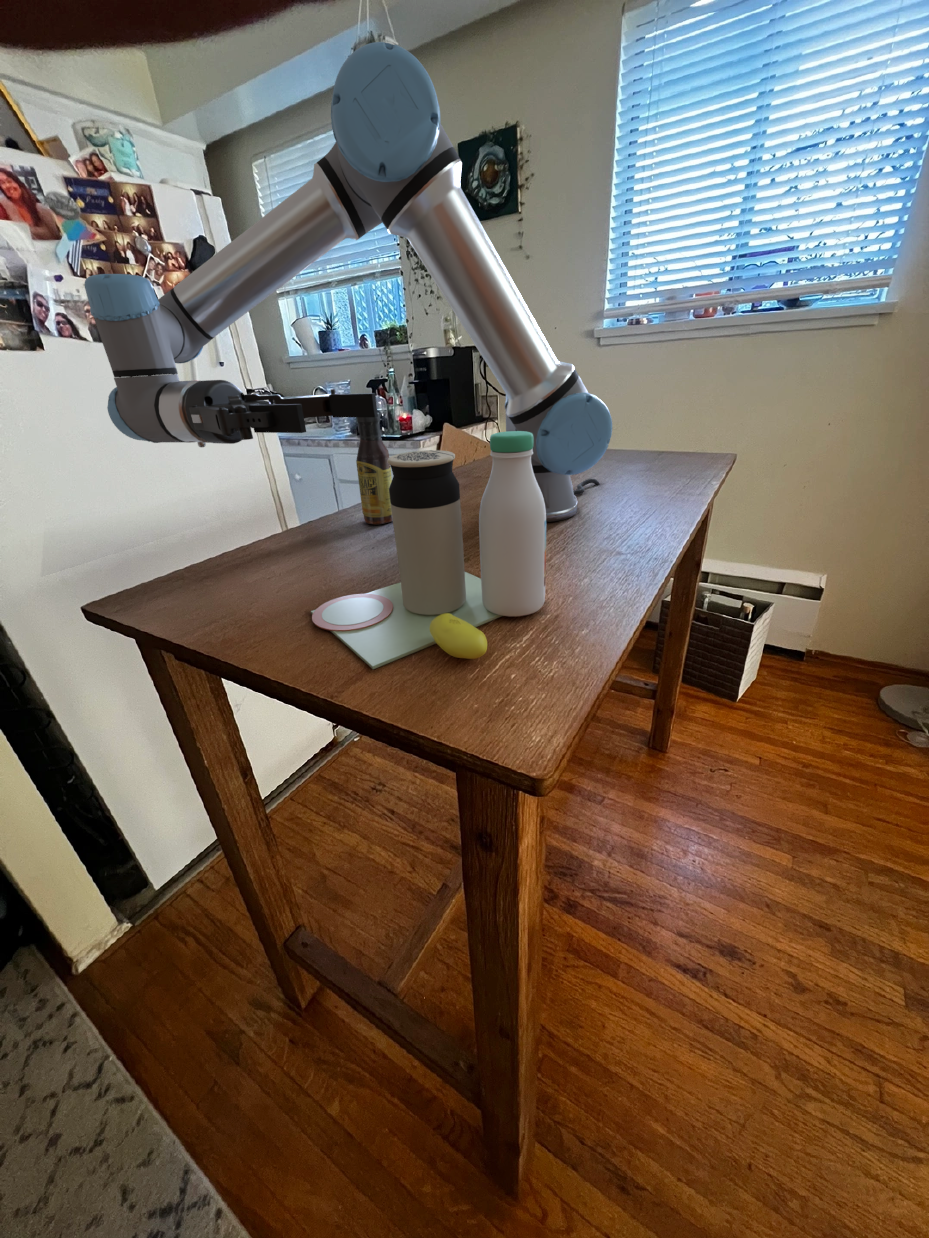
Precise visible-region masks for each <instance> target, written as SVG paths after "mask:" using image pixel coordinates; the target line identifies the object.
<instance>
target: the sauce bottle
mask: <svg viewBox="0 0 929 1238" xmlns="http://www.w3.org/2000/svg"><path fill="white" fill-rule="evenodd" d="M356 420H357V421H356V422H357V424H358V431H359V443H358V449H357V454H356V455H357V456H356V459H355V460H356V461H355V463H356V471H357V478H358V479H357V480H358V488H359V494H360V503H361V513H362V515H363V520H364V522H365V523H366V524H368V525H375V526H380V525H381V526H382V525H384V524H388V523H391V522H393V518H392V510H391V503H390V495H389V487H390V484H391V481H392V479H393V476H392V469H391V466H390V464H388V462H387V460H388V458H389V457H390V453H389V449H388V447H386V445H385V444H384V441H383V439H382V434H381V427H380V425H381V424H380V422H381V414H380V412H378V417H356Z"/></svg>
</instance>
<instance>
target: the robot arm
mask: <svg viewBox="0 0 929 1238" xmlns="http://www.w3.org/2000/svg"><path fill="white" fill-rule="evenodd" d="M345 59H346V60H345V61H344V62H343V64H342V65H341V66H340V69H339V70H338V73H337V76H336V78H335V81H334V85H333V90H332V98H331V103H330V104H331V105H330V121H331V130H332V133H333V137H334V140H335V143H334V144H333V146H332V147H331V148H330V150H329V151H328V152H327V153H326V154H325V155H324V156H323V157H322V158H320V159H319V160H318V161H316V162H315V163H314V164H313V172H312V173H313V174H312V178H311V179H309V180H308V181H307V182H306V183H304V184H303V185H302V186H300V187H299V188H298V189H296V190H295V191H294V192H293V193H291V194H289V196H287V198H285V199H284V200H283V201H281V202H280V203H279V204H278V205H276V206H275V207H274V208H272V209H271V210H270V211H269V212H267V213H266V214H264V216H262V217H261V218H260V219H258V220H257V221H256V222H255V223H254V224H252V225H250V226H249V228H247V229H246V230H244V231H243V232H242V233H241V234H239V235H238V236H237V237H235V238H234V239H233V240H231V241H230V242H229V243H228V244H226V245H225V246H223V248H222V249H220V250H219V251H218V252H216V253H214V255H213V256H211V257H210V258H209V259H208V260H206V261H205V262H203V263H202V264H200V266H199V267H197V268H196V269H195V270H193V271H192V272H191V273H190V274H189V275H187V276H186V277H185V278H183V279H182V280H180V282H178V283H177V284H176V285H174V286H173V288H172V289H171V290H168V291H167V292H165V294H163V295H162V296H161V297H160V298H158V297H157V295H156V292H155V289H154V286H153V284H152V282H151V281H150V280H149V279H148V278H146V277H144V276H142V275H137V274H130V273H129V274H128V273H100V274H93V275H89V276H88V277H86V279H84V290H85V294H86V296H87V300H88V301H87V302H88V305H89V311H90V315H91V316H92V317H93V320H94V323H95V325H96V328H97V331H98V334H99V337H100V340H101V343H102V345H103V348H104V351H105V354H106V357H107V360H108V362H109V366H110V368H111V371H112V375H113V380H114V383H115V386H116V387H114V388H113V389H112V390H111V391H110V393H109V395H108V399H107V407H106V409H107V413H108V416H109V419H110V420H111V422H112V424H113V425H114V426H115V428H116V429H117V430H118V431H119V432H121V433H122V434H123V435H125V436H126V437H128V438H130V439H133V440H137V441H143V442H148V443H154V444H161V443H190V444H191V443H196V444H197V446H198V447H199V448H205V447H206V445H207V444H210V443H211V444H221V445H222V444H227V445H228V444H229V445H233V444H239V443H240V442H242V441H247V440H253V439H254V436H253V432H254V433H258V434H259V433H260V434H261V433H265V434H269V433H273V434H304V433H307V428H306V427H307V426H306V423H305V419H309V418H320V417H321V418H322V417H332V418H357V417H378V413H379V412H378V404H377V396H376V393H375V392H368V393H366V392H365V393H364V392H363V393H338V392H337V391H336V388H330V393H329V394H316V395H315V394H314V395H297V396H281V395H280V394H266V395H264V394H263V395H260V394H258V393H247V394H244V392H243V391H242V389H240V388H239V387H238V385H236V384H234V383H233V382H230V381H229V380H225V379H210V380H209V379H208V380H180V378H179V375H178V374H179V372H178V368H177V366H176V364H185V363H189V362H190V361H193V360H195V359H196V358H198V357H199V356H200V354H201V353H202V351H203V350H204V347H205V346H206V345H207V344H209V343H210V342H211V341H212V340H213V339H214V338H215V337H216V336H218V335H219V334H220V333H222V332H223V331H225V330H226V329H227V328H229V327H230V326H231V325H233V324H234V323H236V322H237V321H238V320H239V319H241V318H242V317H243V316H244V315H245V314H247V313H248V312H250V311H251V310H253V309H254V308H256V306H258V305H260V304H261V303H263V301H264V300H266V299H267V298H268V297H270V296H271V295H272V294H273V293H275V292H277V291H278V290H279V289H280V288H282V287H283V286H284V285H286V284H287V283H289V282H290V281H291V280H293V278H295V277H296V276H298V275H299V274H300V273H301V272H304V270H306V269H307V268H308V267H310V266H311V265H312V264H314V263H315V262H316V261H317V260H319V259H320V258H321V257H323V256H324V255H326V254H327V253H328V252H329V251H331V250H332V249H334V248H335V247H336V246H337V245H339V244H340V243H342V242H343V241H344V240H346V239H351V240H354V241H358V240H360V239H361V238H362V237H364V236H365V235H366V234H367V233H369V232H371V231H373V230H374V229H376V228H377V227H378V226H380V225H381V224H383V226H384V227H385V229H386V230H387V232H388V234H389V235H394V236H397V237H403V238H404V239H406V240H408V242H409V243H410V246H411V247H412V248H413V250H414V251H415V253H416V254H417V257H418V258H419V259H420V261H421V262H422V264H423V265H424V267H425V269H426V271H427V272H428V273H429V276H430V277H431V278H432V280H433V282H434V283H435V285H436V286H437V288H438V289H439V290H440V293H441V294H442V296H443V297H444V299H445V301H446V303H448V305H449V307H450V308H451V310H452V311H453V313H454V315H455V316H456V317H457V319H458V321H459V323H460V324H461V326H462V327H463V329H464V330H465V332H466V333H467V335H468V336H469V338H470V339H471V342H472V343H473V344H474V346H475V347H476V349H477V351H478V352H479V354H480V356H481V357H482V358H483V360H484V362H485V363H486V365H487V367H488V368H489V370H490V371H491V373H492V374H493V376H494V378H495V379H496V380H497V382H498V384H499V386H500V387H501V389H502V390H503V392H504V394H505V402H504V410H505V432H508V431H526V432H530V433H532V434H533V440H534V443H533V454H532V455H531V464H532V469H533V472H534V476H535V478H536V481H537V483H538V486H539V488H540V490H541V492H542V495H543V498H544V502H545V509H546V523H553V522H558V521H563V520H566V519H569V518H571V517H573V516H575V515H576V514H577V512H578V499H577V496H576V495H580V494H583V493H584V492H585V490H586V489H585V486H587V485H589V484H594V485H595V486H600V484H601V483H600V482H599V480H597V479H595V478H587V479H584V480H583V481H581V482H580V483H579V484H577V485H576V489H575V490H574V487H573V482H572V478H571V477H572V476H575V475H578V474H582V473H584V472H586V471H588V470H590V469H591V468H593V467H594V466H595V465H597V464H598V462H599V461H600V460H601V459H602V458H603V457H604V455H605V453H606V452H607V450H608V448H609V444H610V442H611V438H612V435H613V419H612V415H611V413H610V409H609V408H608V406H607V405H606V404H605V403H604V401H602V400H601V398H599V397H598V396H597V395H596V394H593V393H590V392H589V391H588V389H587V387H586V386H585V383H584V382H583V380H582V378H581V376H580V375H579V373H578V372H577V370H576V367H575V366H574V365H573V363H570V362H564V361H560V360H558V359H557V357H556V355H555V353H554V352H553V349H552V347H551V346H550V345H549V342H548V341H547V339H546V337H545V336H544V334H543V332H542V331H541V328H540V327H539V324H538V323H537V321H536V319H535V318H534V316H533V313H532V312H531V311H530V309H529V307H528V305H527V304H526V301H525V300H524V298H523V296H522V294H521V293H520V291H519V289H518V287H517V285H516V284H515V282H514V280H513V278H512V277H511V274H510V273H509V271H508V270H507V267H506V266H505V264H504V262H503V260H502V259H501V257H500V255H499V254H498V251H497V250H496V248H495V246H494V244H493V243H492V241H491V239H490V238H489V237H490V236H489V235H488V234H487V232H486V230H485V228H484V227H483V225H482V223H481V221H480V219H479V218H478V216H477V214H476V212H475V211H474V209H473V207H472V205H471V203H470V202H469V200H468V198H467V196H466V194H465V193H464V191H463V189H462V186H461V179H462V178H461V177H462V168H463V162H462V160H461V157H460V156H459V154H458V152H457V151H456V149H455V147H454V145H453V143H452V141H451V139H450V138H449V136H448V134H447V131H446V130H445V129H444V126H443V125H442V124H441V109H440V104H439V100H438V95H437V91H436V89H435V86H434V83H433V81H432V79H431V77H430V74H429V73H428V71H427V70H426V67H424V65H423V64H422V62H420V60H419V59H418V58H417V57H416V56H415V55H414V54H412V53H411V52H410V51H409V50H407V49H405V48H404V47H402V46H400V45H398V44H393V43H390V42H384V41H373V42H369V43H367V44H364V45H362V46H360V47H358V48H357V49H356V50H354V51H353V52H352V53H351V54H350V55H348V57H347V58H345ZM252 429H253V431H252Z"/></svg>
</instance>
